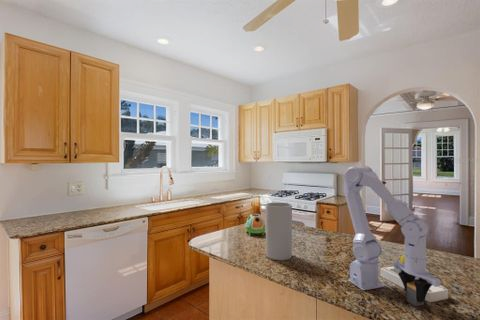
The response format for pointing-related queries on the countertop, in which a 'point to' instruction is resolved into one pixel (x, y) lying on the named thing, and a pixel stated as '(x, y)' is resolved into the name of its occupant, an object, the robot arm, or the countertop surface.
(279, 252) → the cylinder vase
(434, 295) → the socket board
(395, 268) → the shutter
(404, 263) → the lemon
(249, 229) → the turtle holder
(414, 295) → the orange and grey block
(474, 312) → the countertop surface
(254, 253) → the countertop surface
